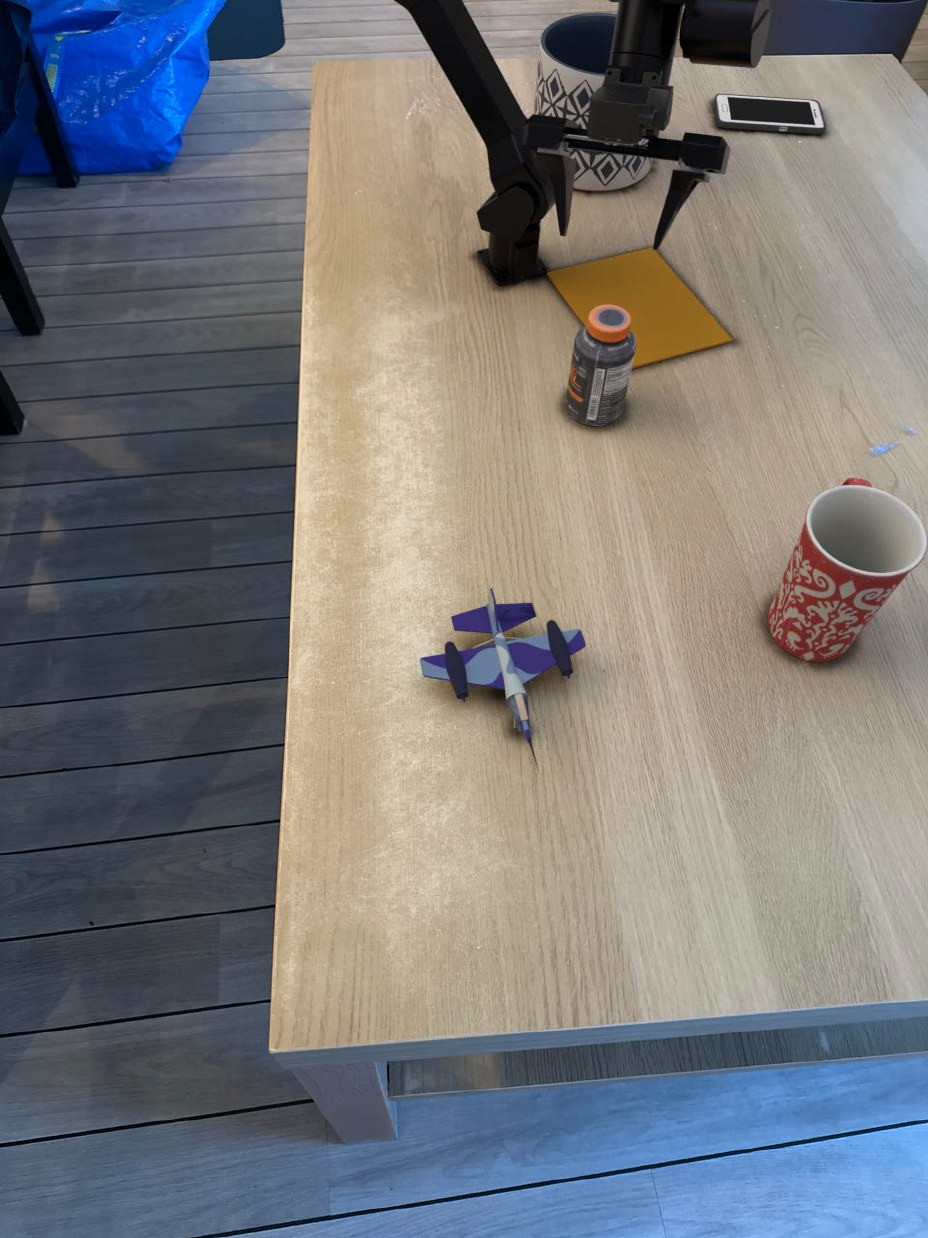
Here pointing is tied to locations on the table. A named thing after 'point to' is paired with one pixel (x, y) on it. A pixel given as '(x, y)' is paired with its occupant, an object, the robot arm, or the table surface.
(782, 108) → the cell phone
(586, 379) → the pill bottle
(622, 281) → the cloth
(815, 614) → the mug
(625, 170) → the planter
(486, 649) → the toy airplane
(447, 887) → the table surface
